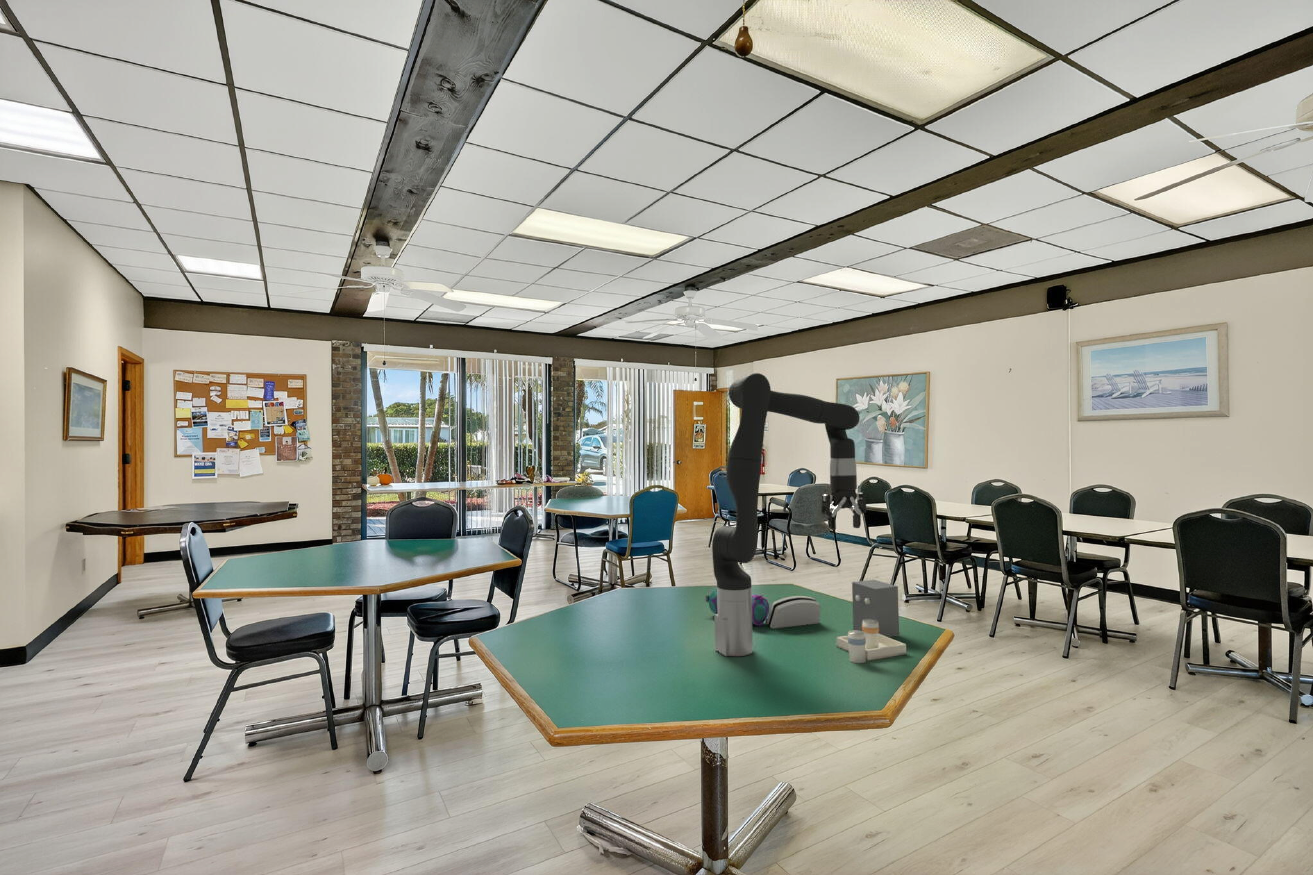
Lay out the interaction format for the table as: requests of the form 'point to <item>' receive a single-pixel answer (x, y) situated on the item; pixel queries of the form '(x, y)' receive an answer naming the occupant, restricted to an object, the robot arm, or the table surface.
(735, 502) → the robot arm
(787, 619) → the white slotted rounded block
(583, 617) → the table surface
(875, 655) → the parts tray
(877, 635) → the white orange rounded cylinder
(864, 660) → the blue-band fuse
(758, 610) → the pencil case
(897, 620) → the control box
